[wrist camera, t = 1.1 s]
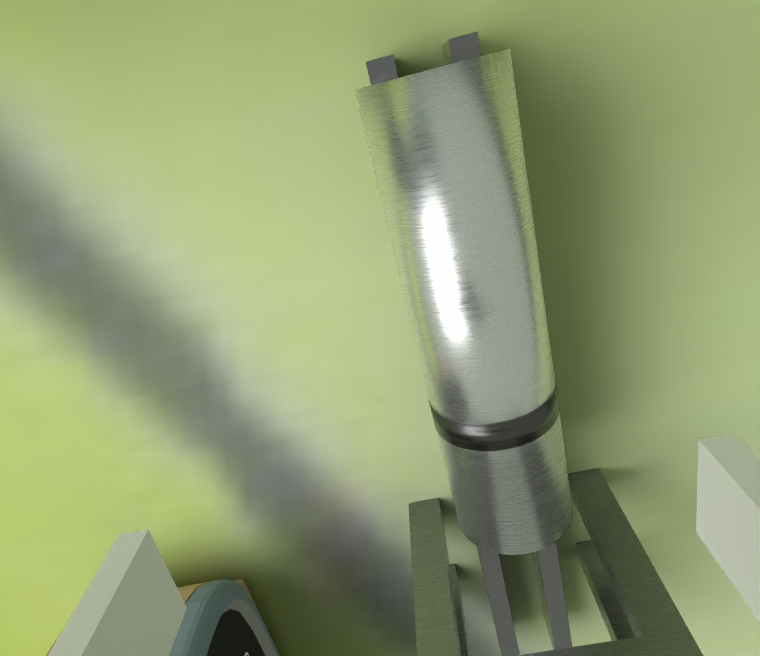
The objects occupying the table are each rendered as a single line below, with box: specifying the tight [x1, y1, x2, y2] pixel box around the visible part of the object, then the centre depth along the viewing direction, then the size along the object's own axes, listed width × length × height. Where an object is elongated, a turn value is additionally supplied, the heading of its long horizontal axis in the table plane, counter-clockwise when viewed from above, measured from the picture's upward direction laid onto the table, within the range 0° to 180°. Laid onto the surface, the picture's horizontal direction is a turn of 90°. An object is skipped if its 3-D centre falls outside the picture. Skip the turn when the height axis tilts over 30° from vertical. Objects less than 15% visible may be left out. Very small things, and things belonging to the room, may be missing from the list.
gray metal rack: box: [366, 32, 703, 656], centre depth 28 cm, size 39×12×13 cm, turn 14°
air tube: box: [355, 49, 573, 555], centre depth 25 cm, size 22×6×6 cm, turn 14°
